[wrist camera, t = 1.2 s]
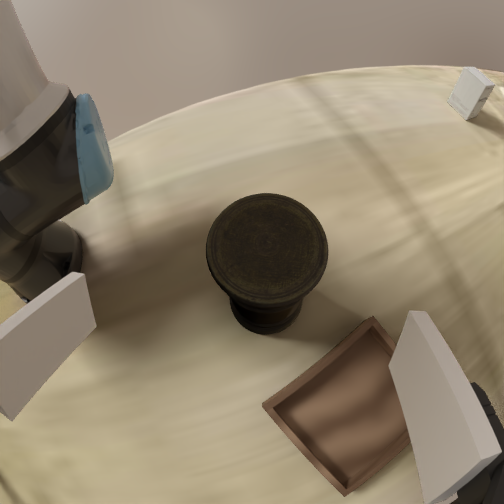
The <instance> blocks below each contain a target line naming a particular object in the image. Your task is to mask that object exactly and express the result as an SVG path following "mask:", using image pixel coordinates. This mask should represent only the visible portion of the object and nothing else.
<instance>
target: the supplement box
mask: <svg viewBox="0 0 504 504" xmlns="http://www.w3.org/2000/svg"><path fill="white" fill-rule="evenodd" d="M494 86H495V84H494V83H493V82H492V81H491V80H490V79H489V78H487V77H486V76H485V75H484V74H483V73H482V72H480V71H479V70H478V69H477V68H476V67H464V68H463V70H462V72H461V74H460V77H459V79H458V81H457V83H456V85H455V87H454V89H453V91H452V93H451V95H450V97H449V99H448V101H447V102H448V103H449V104H450V105H451V106H452V107H453V108H454V109H455V110H456V111H457V112H458V113H459V114H460V115H461V116H462V117H463V118H464V119H465V120H468V119H470V118H473V117H477V115H478V113H479V112H480V110H481V109H482V107H483V105H484V104H485V102H486V100H487V99H488V97H489V95H490V93H491V92H492V90H493V88H494Z"/></svg>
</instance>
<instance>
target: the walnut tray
mask: <svg viewBox="0 0 504 504" xmlns="http://www.w3.org/2000/svg"><path fill="white" fill-rule="evenodd" d="M396 346H397V345H396V344H395V342H394V341H393V340H392V339H391V337H390V336H389V335H388V334H387V332H386V331H385V330H384V329H383V327H382V326H381V325H380V324H379V322H378V321H377V320H376V319H375V317H374V316H372V317H370V318H368V319H366V320H365V321H364V322H362V323H361V324H360V325H359V326H358V327H357V328H356V329H355V330H354V331H353V332H352V333H350V334H349V335H348V336H347V337H346V338H345V339H344V340H343V341H341V342H340V343H339V344H338V345H337V346H336V347H334V348H333V349H332V350H331V351H330V352H329V353H327V354H326V355H325V356H324V357H323V358H321V359H320V360H319V361H318V362H316V363H315V364H314V365H313V366H311V367H310V368H309V369H308V370H306V371H305V372H304V373H303V374H301V375H300V376H299V377H297V378H296V379H295V380H294V381H292V382H291V383H290V384H288V385H287V386H286V387H284V388H283V389H281V390H280V391H279V392H277V393H276V394H275V395H273V396H272V397H270V398H269V399H268V400H266V401H265V402H263V403H262V407H263V408H264V410H265V411H266V412H267V413H268V414H269V416H270V417H271V418H272V419H273V420H274V422H275V423H276V424H277V425H278V426H279V428H280V429H281V430H282V431H283V432H284V433H285V434H286V436H287V437H288V438H289V439H290V440H291V441H292V442H293V444H294V445H295V446H296V447H297V448H298V449H299V450H300V451H301V453H302V454H303V455H304V456H305V457H306V458H307V459H308V460H309V461H310V462H311V463H312V464H313V465H314V467H315V468H316V469H317V470H318V471H319V472H320V473H321V474H322V475H323V476H324V477H325V478H326V479H327V480H328V481H329V482H330V483H331V484H332V485H333V486H334V487H335V488H336V489H337V490H338V491H339V492H340V493H341V494H342V495H343V496H344V497H345V496H347V495H348V494H349V493H351V492H352V491H354V490H355V489H356V488H358V487H359V486H360V485H362V484H363V483H364V482H365V481H367V480H368V479H369V478H371V477H372V476H373V475H374V474H375V473H377V472H378V471H379V470H380V469H382V468H383V467H384V466H385V465H386V464H387V463H388V462H390V461H391V460H392V459H393V458H394V457H395V456H396V455H397V454H398V453H400V452H401V451H402V450H403V449H404V448H405V447H406V446H407V445H408V444H409V443H410V442H411V440H410V436H409V432H408V428H407V425H406V421H405V417H404V414H403V410H402V407H401V404H400V400H399V397H398V394H397V391H396V387H395V384H394V381H393V378H392V375H391V372H390V369H389V366H388V365H389V363H390V361H391V358H392V356H393V353H394V351H395V348H396Z"/></svg>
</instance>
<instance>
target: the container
mask: <svg viewBox="0 0 504 504" xmlns="http://www.w3.org/2000/svg"><path fill="white" fill-rule="evenodd" d="M206 258H207V263H208V267H209V270H210V272H211V274H212V276H213V278H214V280H215V281H216V283H217V284H218V285H219V286H220V288H221V289H222V290H223V291H224V292H226V293H227V295H228V296H229V297H230V305H231V309H232V312H233V314H234V316H235V318H236V319H237V321H238V322H239V323H240V324H241V325H242V326H243V327H245V328H246V329H248V330H250V331H252V332H254V333H258V334H274V333H277V332H280V331H282V330H284V329H286V328H287V327H288V326H290V325H291V324H292V323H293V322H294V321H295V319H296V318H297V316H298V314H299V312H300V310H301V306H302V301H303V298H304V297H305V296H306V295H307V294H308V293H309V292H310V291H311V290H312V289H313V288H314V287H315V286H316V285H317V284H318V282H319V281H320V279H321V277H322V275H323V273H324V271H325V268H326V265H327V261H328V243H327V238H326V235H325V232H324V230H323V228H322V226H321V224H320V222H319V221H318V219H317V218H316V216H315V215H314V214H313V213H312V212H311V211H310V210H309V209H308V208H307V207H305V206H304V205H303V204H301V203H300V202H298V201H296V200H294V199H292V198H289V197H287V196H283V195H279V194H272V193H261V194H255V195H250V196H247V197H244V198H241V199H239V200H237V201H235V202H234V203H232V204H231V205H229V206H228V207H227V208H226V209H225V210H224V211H222V212H221V214H220V215H219V216H218V217H217V218H216V220H215V221H214V223H213V225H212V227H211V229H210V231H209V234H208V238H207V243H206Z"/></svg>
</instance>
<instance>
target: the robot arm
mask: <svg viewBox="0 0 504 504" xmlns="http://www.w3.org/2000/svg"><path fill="white" fill-rule="evenodd" d="M113 177H114V169H113V163H112V159H111V155H110V151H109V147H108V143H107V140H106V136H105V133H104V129H103V126H102V123H101V120H100V117H99V114H98V111H97V108H96V106H95V103H94V101H93V100H92V98H91V96H90V95H89V94H83V95H81V94H80V95H78V96H77V98H74V96H73V95H72V93H71V91H70V89H69V87H68V86H67V85H66V84H62V83H55V82H50V81H48V80H47V78H46V76H45V74H44V72H43V70H42V68H41V66H40V64H39V62H38V60H37V58H36V56H35V54H34V52H33V50H32V48H31V46H30V44H29V41H28V39H27V37H26V35H25V33H24V31H23V28H22V26H21V24H20V21H19V19H18V17H17V14H16V12H15V10H14V7H13V4H12V2H11V0H0V280H2V281H4V282H6V283H7V284H8V285H9V286H10V287H11V288H12V289H13V290H14V291H15V292H16V294H17V295H18V296H19V297H20V298H21V299H22V300H23V301H24V302H25V303H27V304H26V305H25V306H24V307H22V308H21V309H20V310H19V311H17V312H16V313H15V314H13V315H12V316H11V317H9V318H8V319H7V320H6V321H4V322H3V323H2V324H1V325H0V412H1V413H2V414H3V415H4V416H6V417H7V418H8V419H9V420H11V421H13V420H14V419H15V417H16V416H17V415H18V414H19V413H20V411H21V410H22V409H23V408H24V407H25V405H26V404H27V403H28V402H29V401H30V399H31V398H32V397H33V396H34V395H35V394H36V392H37V391H38V390H39V389H40V388H41V387H42V385H43V384H44V383H45V382H46V381H47V380H48V379H49V378H50V376H51V375H52V374H53V373H54V372H55V371H56V370H57V369H58V367H59V366H60V365H61V364H62V363H63V362H64V361H65V360H66V359H67V358H68V357H69V355H70V354H71V353H72V352H73V351H74V350H75V349H76V348H77V347H78V346H79V345H80V344H81V343H82V342H83V341H84V339H85V338H86V337H87V336H88V335H89V334H90V333H91V332H92V331H93V330H94V329H95V328H96V327H97V326H96V322H95V318H94V314H93V310H92V306H91V302H90V297H89V293H88V288H87V283H86V278H85V274H82V273H80V269H81V264H82V246H81V242H80V239H79V237H78V235H77V233H76V232H75V231H74V230H73V229H72V228H71V227H70V226H69V225H67V224H66V223H65V222H63V221H60V220H59V219H61V218H63V217H64V216H66V215H67V214H69V213H71V212H72V211H74V210H75V209H77V208H79V207H80V206H82V205H84V204H86V205H87V204H88V203H89V202H90V200H91V199H93V198H94V197H96V196H98V195H99V194H101V193H102V192H104V191H106V190H107V189H108V188H109V187H110V186H111V184H112V182H113ZM388 366H389V369H390V372H391V375H392V378H393V381H394V384H395V387H396V391H397V394H398V397H399V400H400V404H401V407H402V410H403V414H404V417H405V421H406V425H407V428H408V432H409V436H410V440H411V444H412V448H413V452H414V456H415V460H416V465H417V469H418V474H419V478H420V483H421V488H422V494H423V499H424V504H434V503H438V502H441V501H444V500H446V499H447V498H449V497H450V496H452V495H453V494H454V493H456V492H457V495H458V498H457V499H456V500H455V501H453V502H452V503H450V504H504V429H503V427H502V424H501V422H500V420H499V418H498V416H497V415H495V413H496V412H495V410H494V408H493V406H491V402H490V401H489V399H488V397H487V395H486V393H485V392H484V391H483V390H482V389H481V388H480V387H479V386H478V385H477V384H476V383H475V382H474V383H469V381H468V379H467V377H466V375H465V374H464V372H463V370H462V368H461V367H460V365H459V363H458V361H457V360H456V358H455V356H454V355H453V353H452V351H451V350H450V348H449V346H448V345H447V343H446V341H445V340H444V338H443V337H442V335H441V334H440V332H439V330H438V329H437V327H436V326H435V324H434V323H433V321H432V320H431V318H430V317H429V315H428V314H427V312H426V311H411V310H409V313H408V316H407V318H406V321H405V324H404V327H403V330H402V333H401V335H400V338H399V341H398V343H397V346H396V348H395V351H394V353H393V356H392V358H391V361H390V363H389V365H388Z"/></svg>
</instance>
